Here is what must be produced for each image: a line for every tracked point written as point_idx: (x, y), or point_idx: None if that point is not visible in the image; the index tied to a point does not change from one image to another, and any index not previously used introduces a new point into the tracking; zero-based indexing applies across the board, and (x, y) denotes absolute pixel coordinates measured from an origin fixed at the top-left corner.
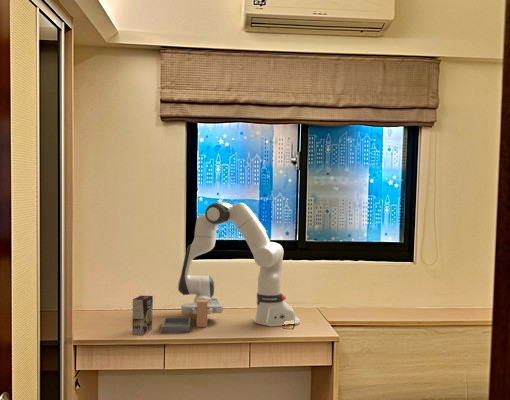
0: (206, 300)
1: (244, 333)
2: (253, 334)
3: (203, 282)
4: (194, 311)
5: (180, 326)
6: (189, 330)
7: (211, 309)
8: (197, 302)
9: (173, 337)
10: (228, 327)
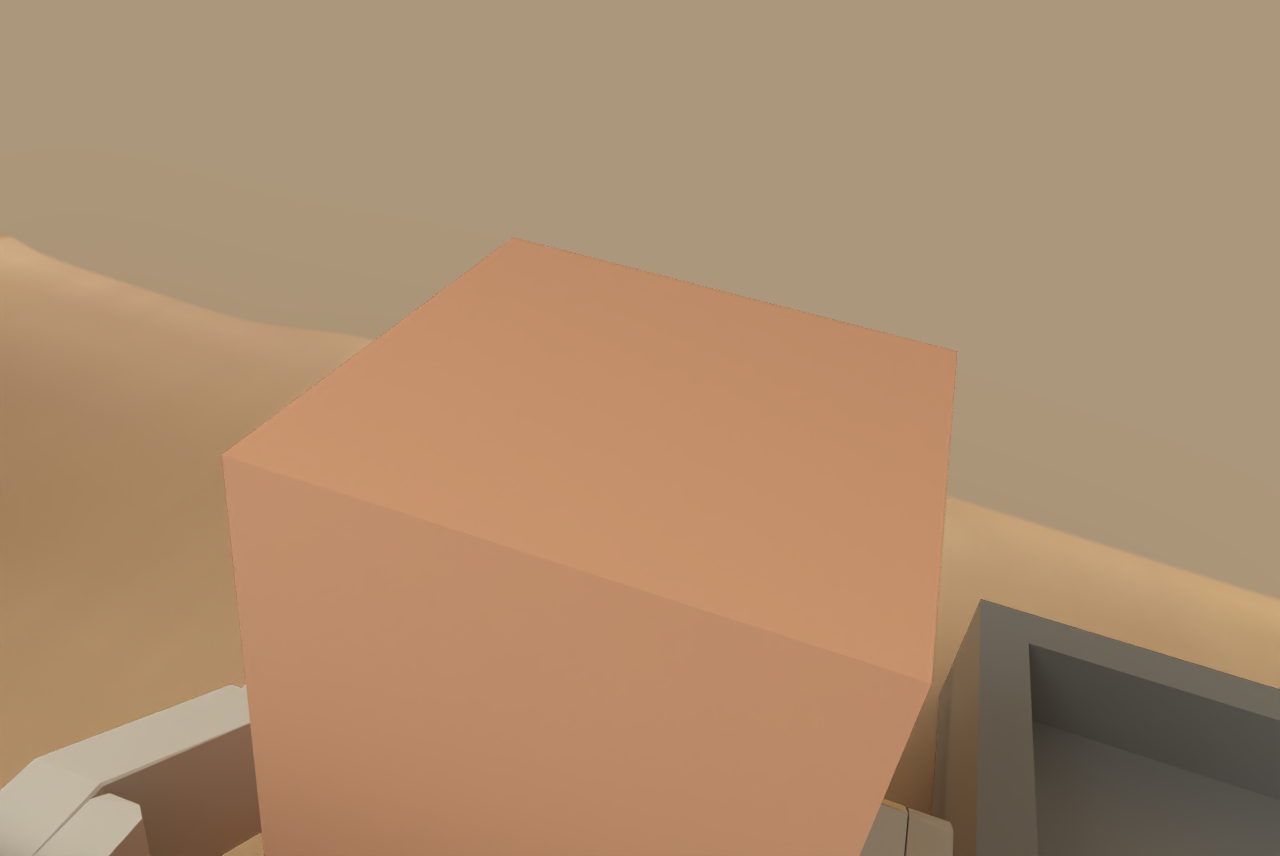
0: (416, 360)
1: (119, 374)
2: (57, 319)
3: None
4: (920, 814)
5: (1181, 660)
6: (957, 664)
7: (151, 726)
8: (924, 365)
9: (1200, 607)
10: (36, 670)
